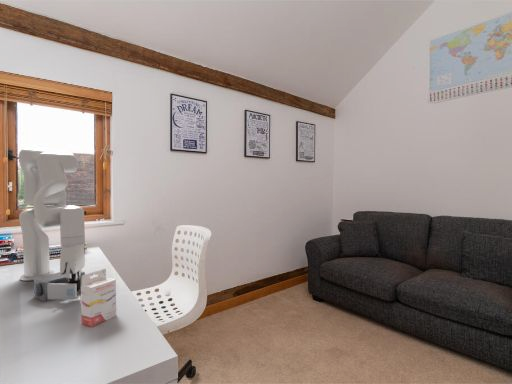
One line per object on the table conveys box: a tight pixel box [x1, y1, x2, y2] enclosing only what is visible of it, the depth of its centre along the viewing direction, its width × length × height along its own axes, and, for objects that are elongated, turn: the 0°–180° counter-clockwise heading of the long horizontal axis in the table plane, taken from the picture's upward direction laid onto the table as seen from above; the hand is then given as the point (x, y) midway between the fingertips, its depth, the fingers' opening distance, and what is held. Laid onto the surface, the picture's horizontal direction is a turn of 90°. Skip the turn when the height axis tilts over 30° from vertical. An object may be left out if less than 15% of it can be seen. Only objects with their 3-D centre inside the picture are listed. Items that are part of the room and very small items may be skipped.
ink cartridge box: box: [80, 268, 117, 328], centre depth 89 cm, size 9×5×15 cm, turn 155°
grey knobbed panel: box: [33, 270, 86, 303], centre depth 112 cm, size 9×16×8 cm, turn 146°
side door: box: [45, 282, 78, 301], centre depth 104 cm, size 2×12×6 cm, turn 85°
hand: (74, 290), depth 106 cm, fingers closed
